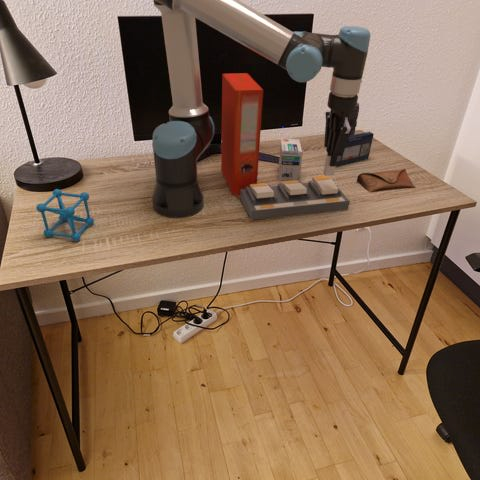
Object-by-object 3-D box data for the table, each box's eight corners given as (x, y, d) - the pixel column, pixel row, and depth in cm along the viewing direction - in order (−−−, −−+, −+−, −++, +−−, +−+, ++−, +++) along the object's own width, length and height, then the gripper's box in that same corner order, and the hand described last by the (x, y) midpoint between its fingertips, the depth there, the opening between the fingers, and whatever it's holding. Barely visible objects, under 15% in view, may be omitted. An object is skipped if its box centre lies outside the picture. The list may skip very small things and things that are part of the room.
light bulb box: (299, 182, 143) (303, 151, 136) (279, 181, 143) (282, 150, 136) (297, 167, 151) (300, 138, 145) (277, 167, 151) (280, 137, 145)
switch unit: (250, 220, 123) (251, 206, 120) (240, 197, 133) (240, 184, 130) (348, 209, 129) (350, 196, 126) (330, 189, 139) (332, 176, 137)
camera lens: (341, 135, 177) (347, 98, 168) (357, 141, 172) (364, 104, 163) (328, 140, 173) (333, 102, 164) (344, 146, 168) (351, 108, 159)
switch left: (257, 198, 123) (257, 192, 122) (249, 189, 130) (249, 184, 129) (273, 196, 124) (273, 190, 123) (265, 188, 131) (265, 182, 130)
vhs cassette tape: (329, 169, 151) (333, 142, 146) (323, 165, 153) (328, 139, 148) (369, 160, 158) (375, 134, 153) (363, 157, 161) (369, 131, 155)
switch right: (321, 194, 128) (322, 189, 127) (312, 180, 134) (312, 175, 133) (337, 193, 129) (338, 188, 128) (327, 179, 135) (328, 174, 134)
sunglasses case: (368, 193, 137) (367, 172, 137) (357, 194, 144) (355, 174, 144) (417, 187, 142) (416, 167, 141) (404, 188, 148) (403, 169, 148)
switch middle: (290, 195, 125) (290, 189, 124) (281, 186, 132) (281, 181, 131) (306, 193, 126) (306, 187, 125) (296, 185, 133) (297, 179, 132)
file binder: (244, 169, 149) (247, 72, 131) (257, 193, 136) (263, 89, 117) (221, 171, 148) (221, 73, 129) (232, 195, 134) (234, 90, 115)
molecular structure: (62, 218, 121) (54, 186, 115) (96, 223, 119) (89, 191, 114) (42, 238, 113) (33, 205, 107) (78, 243, 111) (70, 210, 106)
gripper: (368, 100, 108) (350, 184, 122) (346, 85, 119) (331, 164, 132) (341, 101, 107) (325, 186, 120) (321, 85, 117) (308, 165, 131)
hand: (328, 174), depth 126 cm, fingers closed
